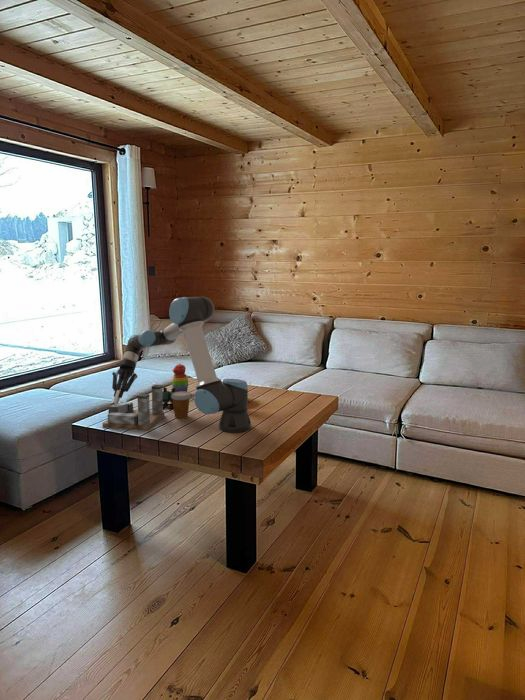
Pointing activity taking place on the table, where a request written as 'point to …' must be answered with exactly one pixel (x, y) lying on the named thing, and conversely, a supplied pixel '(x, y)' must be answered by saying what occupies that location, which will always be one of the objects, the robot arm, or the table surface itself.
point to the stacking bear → (180, 378)
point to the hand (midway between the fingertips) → (115, 403)
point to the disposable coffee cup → (181, 404)
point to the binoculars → (168, 398)
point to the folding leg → (119, 408)
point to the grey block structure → (139, 412)
